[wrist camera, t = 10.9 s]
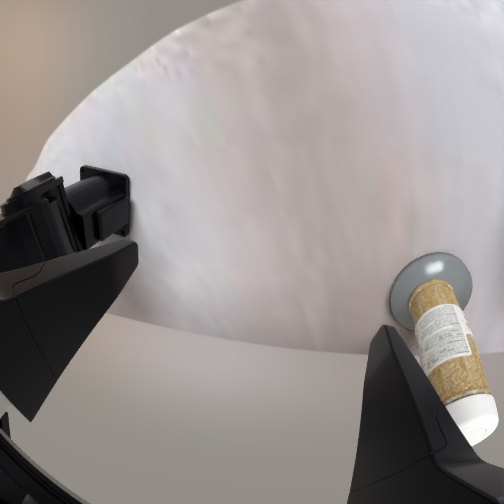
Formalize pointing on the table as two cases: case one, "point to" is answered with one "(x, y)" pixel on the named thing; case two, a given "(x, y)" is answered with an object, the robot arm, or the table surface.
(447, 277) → the coaster
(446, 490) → the robot arm
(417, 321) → the sprinkles bottle
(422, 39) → the table surface
